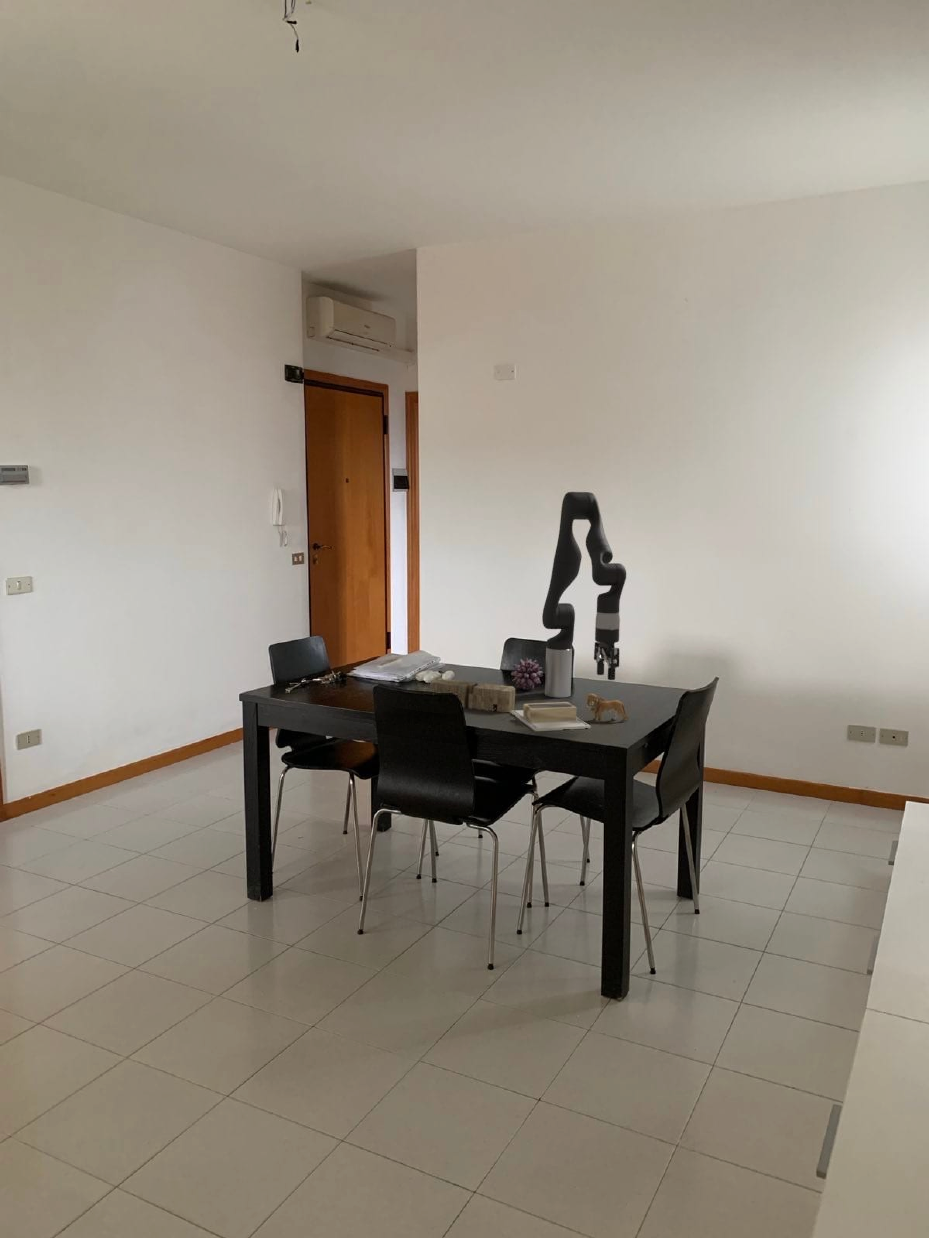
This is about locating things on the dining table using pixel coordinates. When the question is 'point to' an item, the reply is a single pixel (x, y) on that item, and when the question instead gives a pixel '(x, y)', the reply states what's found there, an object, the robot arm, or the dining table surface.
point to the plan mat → (551, 723)
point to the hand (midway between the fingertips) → (605, 677)
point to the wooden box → (549, 711)
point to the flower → (527, 674)
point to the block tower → (478, 694)
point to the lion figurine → (605, 707)
